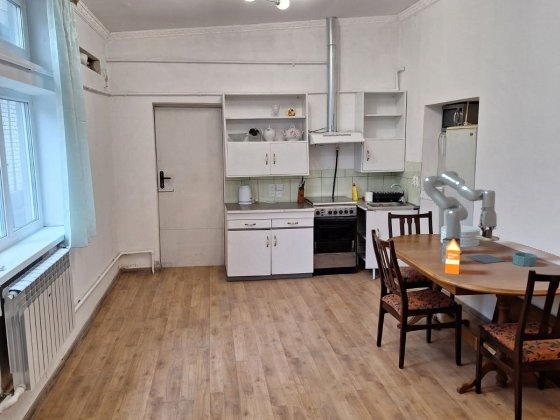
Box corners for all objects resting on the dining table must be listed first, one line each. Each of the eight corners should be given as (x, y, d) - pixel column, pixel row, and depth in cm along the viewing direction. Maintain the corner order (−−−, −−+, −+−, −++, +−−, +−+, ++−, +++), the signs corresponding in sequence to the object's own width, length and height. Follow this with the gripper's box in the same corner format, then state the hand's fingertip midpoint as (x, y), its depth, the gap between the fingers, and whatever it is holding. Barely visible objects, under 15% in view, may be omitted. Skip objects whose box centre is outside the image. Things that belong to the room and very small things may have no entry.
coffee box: (451, 260, 302) (452, 236, 299) (459, 262, 296) (460, 238, 294) (441, 262, 297) (442, 238, 295) (449, 264, 292) (450, 240, 289)
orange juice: (445, 272, 274) (446, 240, 271) (445, 269, 282) (446, 237, 279) (458, 274, 271) (460, 241, 268) (458, 270, 279) (460, 238, 276)
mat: (482, 263, 293) (482, 263, 293) (464, 256, 310) (464, 256, 310) (505, 261, 298) (505, 260, 298) (486, 254, 315) (486, 254, 315)
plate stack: (432, 240, 360) (433, 226, 359) (459, 237, 371) (460, 224, 369) (459, 248, 335) (460, 233, 333) (487, 244, 346) (488, 230, 344)
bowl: (523, 267, 284) (524, 258, 283) (508, 262, 297) (508, 253, 296) (540, 265, 288) (541, 256, 287) (524, 260, 300) (525, 251, 299)
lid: (485, 241, 292) (485, 232, 291) (469, 237, 307) (470, 228, 306) (504, 240, 296) (505, 231, 295) (488, 235, 311) (488, 227, 310)
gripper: (481, 210, 293) (480, 238, 295) (502, 209, 297) (501, 236, 300) (473, 209, 300) (472, 236, 303) (494, 207, 304) (493, 234, 307)
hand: (487, 236), depth 301 cm, fingers closed on lid, 4 cm apart
